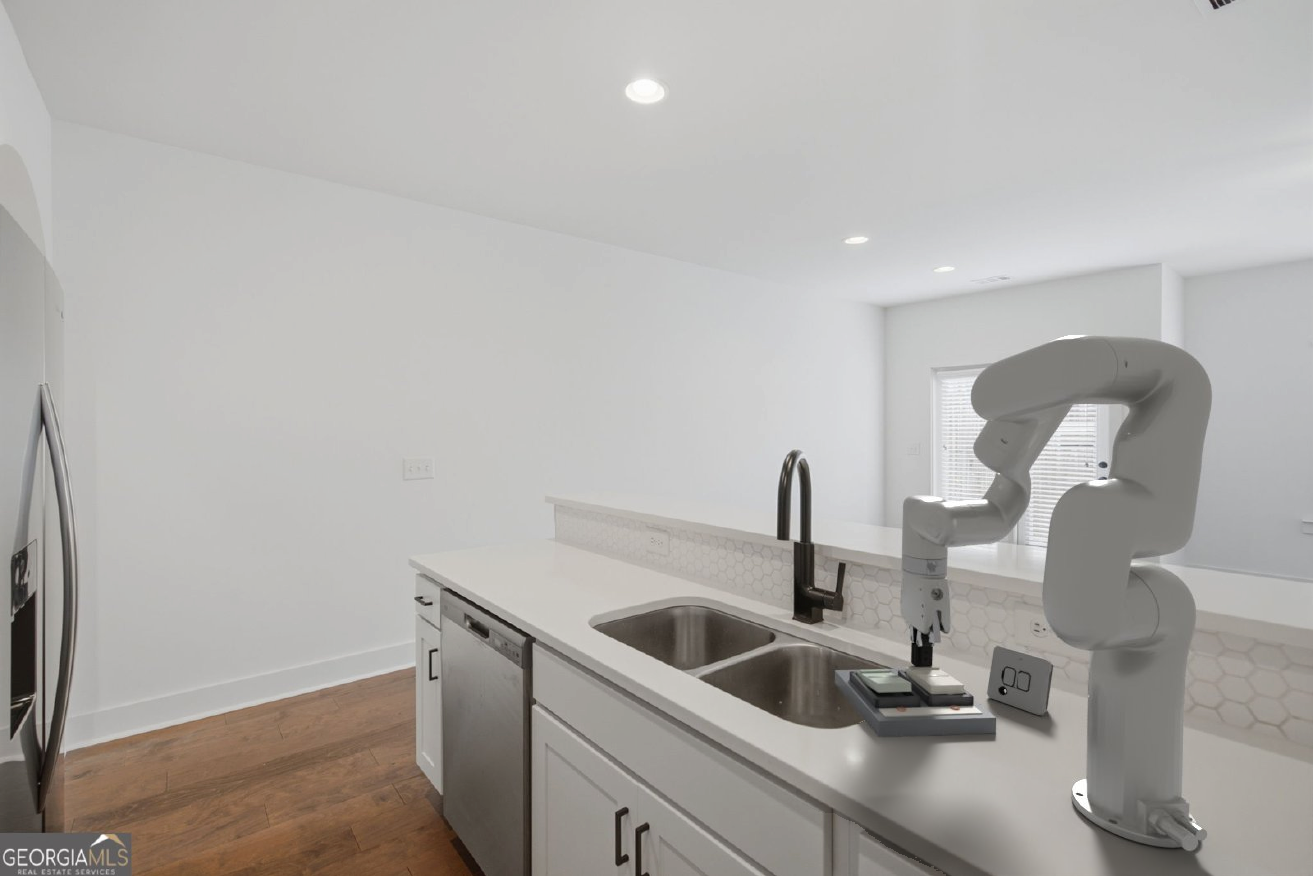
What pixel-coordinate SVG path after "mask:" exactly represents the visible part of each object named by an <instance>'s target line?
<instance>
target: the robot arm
mask: <svg viewBox="0 0 1313 876" xmlns="http://www.w3.org/2000/svg"><path fill="white" fill-rule="evenodd" d="M1212 391H1213V390H1212V384H1211V380H1210V377H1209V376H1208V373H1207V371H1206V369H1205V368H1204V367H1203V365H1202V364H1201V363H1200V361H1199V360H1198V359H1196V358H1195V357H1194V356H1193V355H1192V354H1191V353H1189V352H1188V351H1186V350H1184V349H1182V348H1180V347H1178V346H1175V345H1173V344H1171V343H1168V342H1165V341H1160V340H1156V339H1151V338H1145V337H1144V338H1143V337H1137V336H1136V337H1135V336H1134V337H1133V336H1119V335H1118V336H1109V335H1096V334H1095V335H1094V334H1093V335H1092V334H1079V335H1078V334H1077V335H1076V334H1075V335H1067V336H1064V337H1060V338H1057V339H1054V340H1051V341H1047V342H1045V343H1043V344H1040V345H1037V346H1034V347H1031V348H1029V349H1027V350H1025V351H1024V350H1023V351H1022V352H1019V353H1015V354H1013V355H1011V356H1008V357H1005V358H1002V359H1001V360H998V361H995V362H993V363H991V364H990V365H989V366H987V367H986V368H984V369H983V370H982V371H981V372H980V374H978V376H977V377H976V379H975V380H974V382H973V384H972V388H971V392H970V403H971V406H972V409H973V411H974V413H976V415H978V416H979V418H980V419H983V420H985V421H986V423H985V424H984V426H983V428H982V429H981V430H980V433H979V434H978V436H977V437H976V439H975V441H974V443H973V447H972V449H973V454H974V455H975V457H976V458H977V459H978V461H980V463H981V464H983V466H985V467H986V468H988V470H991V471H993V472H994V473H995V475H994V478H993V481H992V483H991V485H989V487H988V489H987V491H986V492H985V493H984V495H983V496H982V498H981V499H970V500H969V499H967V500H966V499H965V500H955V501H954V500H953V501H947V500H946V499H945V498H943V497H941V496H935V495H924V494H922V495H921V494H920V495H919V494H918V495H909V496H907V497H906V498H905V499H904V501H903V502H902V525H901V526H902V529H901V530H902V531H901V532H902V533H901V534H902V535H901V539H902V540H901V569H900V570H901V573H902V577H901V588H900V607H899V608H900V615H901V617H902V619H903V620H904V621H905V623H906V625H907V626H908V627H909V637H910V641H911V644H910V648H911V649H910V650H911V651H910V663H911V665H912V666H915V667H932V665H933V657H934V656H933V655H934V650H933V649H934V648H933V647H934V646H935V644H941V642H942V640H941V633H943V634H949V633H950V632H951V598H950V589H949V583H948V578H947V576H948V550H949V549H948V548H959V547H967V546H978V545H979V546H980V545H992V544H995V543H998V542H1000V541H1002V540H1003V539H1004V538H1006V537H1007V536H1008V535H1009V534H1010V533H1011V532H1012V531H1013V529H1014V528H1015V527H1016V526H1017V524H1018V523H1019V521H1020V520H1021V518H1022V517H1023V516H1024V514H1025V512H1026V511H1027V509H1028V507H1029V504H1030V501H1031V495H1032V479H1031V475H1030V471H1031V468H1032V467H1033V465H1034V463H1035V462H1036V461H1037V459H1038V458H1039V456H1040V455H1041V453H1042V451H1044V449H1045V447H1046V446H1047V444H1048V443H1049V442H1050V440H1051V439H1052V438H1053V435H1054V434H1055V433H1056V431H1057V430H1058V428H1059V427H1060V425H1061V424H1062V422H1063V421H1064V420H1065V418H1066V417H1067V415H1068V413H1069V412H1070V411H1071V409H1072V407H1073V406H1074V405H1122V406H1125V407H1128V409H1129V412H1128V414H1127V416H1126V417H1125V418H1124V419H1123V421H1122V423H1121V425H1120V426H1119V428H1118V430H1117V432H1116V435H1115V436H1114V441H1113V444H1112V451H1111V452H1112V454H1111V462H1110V468H1109V472H1108V473H1109V474H1108V475H1107V478H1106V479H1096V480H1095V479H1094V480H1088V481H1085V482H1080V483H1078V484H1075V485H1074V486H1072V487H1070V488H1068V489H1067V490H1066V491H1065V492H1064V493H1063V494H1062V495H1061V496H1060V498H1059V499H1058V501H1057V502H1056V504H1055V506H1054V508H1053V510H1052V513H1051V517H1050V520H1049V528H1048V536H1047V542H1046V543H1047V544H1046V552H1045V553H1046V555H1045V563H1044V571H1043V581H1042V591H1041V592H1042V594H1041V595H1042V599H1041V600H1042V608H1043V609H1042V610H1043V613H1044V616H1045V620H1046V622H1047V624H1048V627H1049V628H1050V629H1051V631H1052V632H1053V633H1054V635H1056V637H1057V638H1058V639H1060V640H1061V641H1062V642H1063V643H1064V644H1066V645H1068V646H1070V647H1072V648H1075V649H1078V650H1081V651H1086V652H1087V651H1089V652H1090V651H1091V653H1090V654H1091V655H1090V659H1089V665H1088V681H1087V682H1088V683H1087V715H1086V716H1087V717H1086V718H1087V719H1086V720H1087V723H1086V724H1087V725H1086V727H1087V729H1086V766H1085V768H1086V770H1085V772H1086V773H1085V774H1086V776H1085V778H1084V779H1081V780H1079V781H1076V782H1075V783H1074V784H1073V785H1072V787H1071V801H1072V804H1073V805H1074V806H1075V808H1076V809H1077V810H1078V811H1079V812H1080V813H1081V814H1082V815H1083V816H1085V818H1087V819H1088V820H1089V821H1091V822H1092V823H1094V824H1095V825H1097V826H1099V827H1100V828H1102V829H1104V830H1106V831H1108V832H1109V833H1112V834H1114V835H1117V836H1119V837H1122V838H1123V839H1126V840H1130V841H1133V842H1136V843H1140V844H1144V845H1148V846H1153V847H1161V848H1171V849H1172V848H1173V849H1174V848H1175V849H1176V848H1182V849H1184V850H1185V851H1187V852H1193V851H1194V850H1196V848H1197V847H1198V845H1199V841H1205V840H1206V839H1207V837H1208V832H1207V830H1206V829H1205V828H1203V827H1202V826H1200V825H1198V822H1197V820H1196V818H1195V817H1194V816H1193V815H1192V814H1191V813H1190V802H1189V801H1187V800H1186V799H1185V798H1184V797H1183V766H1184V765H1183V760H1184V759H1183V758H1184V756H1183V755H1184V721H1185V720H1184V717H1185V716H1184V715H1185V713H1184V712H1185V711H1184V709H1185V699H1186V697H1185V696H1186V695H1185V693H1186V691H1185V690H1186V677H1187V675H1186V674H1187V666H1188V665H1187V663H1188V658H1189V653H1190V648H1191V644H1192V640H1193V637H1194V632H1195V628H1196V622H1197V607H1196V603H1195V599H1194V596H1193V594H1192V592H1191V590H1190V588H1189V587H1188V586H1187V584H1186V583H1185V582H1184V581H1183V580H1182V579H1181V578H1180V577H1179V576H1178V575H1177V574H1175V573H1174V572H1173V571H1170V570H1169V569H1167V568H1164V567H1161V566H1159V565H1155V564H1150V563H1145V562H1144V563H1143V562H1132V560H1135V559H1145V558H1147V559H1148V558H1153V557H1154V558H1155V557H1160V556H1165V555H1166V556H1167V555H1169V554H1170V555H1171V554H1174V553H1176V552H1178V551H1180V550H1182V549H1183V548H1184V547H1185V546H1186V545H1187V543H1188V542H1189V541H1190V539H1191V538H1192V537H1191V536H1192V534H1193V530H1194V529H1193V528H1194V523H1195V516H1196V510H1197V504H1198V503H1197V502H1198V494H1199V489H1200V481H1201V473H1202V462H1203V461H1202V460H1203V452H1204V444H1205V439H1206V434H1207V429H1208V426H1209V419H1210V416H1211V410H1212V404H1213V402H1212V401H1213V392H1212Z"/></svg>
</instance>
